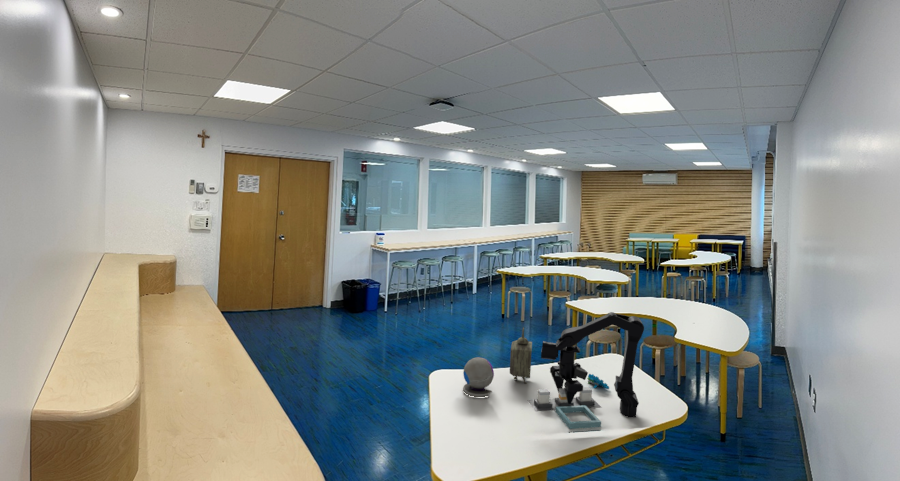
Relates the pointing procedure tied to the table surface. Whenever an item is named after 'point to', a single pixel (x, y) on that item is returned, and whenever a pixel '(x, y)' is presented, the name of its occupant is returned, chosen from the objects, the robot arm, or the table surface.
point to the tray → (578, 424)
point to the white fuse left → (543, 396)
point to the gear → (596, 381)
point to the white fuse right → (585, 394)
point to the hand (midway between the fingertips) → (564, 398)
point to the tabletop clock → (521, 358)
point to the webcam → (478, 377)
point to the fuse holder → (562, 404)
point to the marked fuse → (562, 395)
